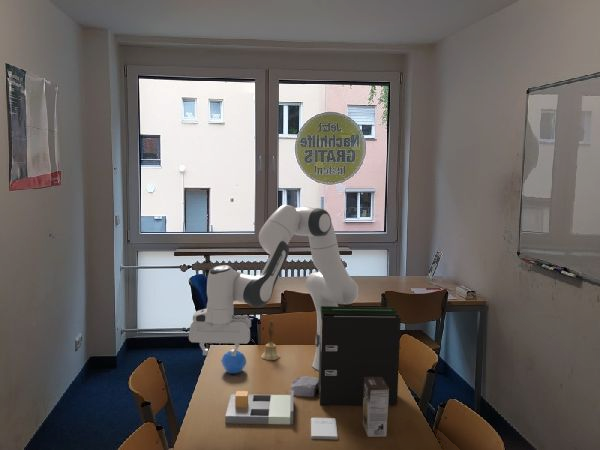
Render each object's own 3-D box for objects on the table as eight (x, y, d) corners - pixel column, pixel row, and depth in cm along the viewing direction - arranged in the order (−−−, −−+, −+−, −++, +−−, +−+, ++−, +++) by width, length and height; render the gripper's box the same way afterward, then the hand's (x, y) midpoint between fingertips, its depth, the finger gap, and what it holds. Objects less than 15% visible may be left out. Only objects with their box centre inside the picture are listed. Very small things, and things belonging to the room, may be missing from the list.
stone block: (289, 400, 206) (316, 397, 204) (287, 387, 206) (314, 384, 204) (296, 388, 217) (321, 385, 215) (294, 376, 217) (319, 373, 215)
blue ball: (247, 366, 233) (247, 344, 231) (245, 378, 221) (245, 354, 219) (223, 366, 232) (223, 344, 231) (219, 377, 220) (219, 354, 219)
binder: (390, 390, 212) (394, 307, 208) (397, 407, 197) (401, 318, 193) (318, 389, 211) (320, 306, 208) (320, 406, 197) (322, 317, 193)
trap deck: (293, 401, 200) (293, 389, 199) (293, 424, 183) (293, 411, 182) (231, 400, 200) (231, 388, 199) (225, 423, 183) (225, 410, 182)
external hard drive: (311, 440, 174) (310, 421, 186) (337, 441, 174) (335, 422, 186) (311, 435, 174) (311, 417, 186) (337, 436, 174) (335, 417, 186)
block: (248, 402, 193) (248, 391, 192) (247, 407, 189) (247, 396, 188) (236, 402, 193) (236, 391, 192) (235, 407, 189) (235, 395, 188)
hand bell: (263, 353, 249) (263, 318, 247) (281, 354, 248) (282, 319, 246) (259, 359, 241) (259, 323, 239) (278, 361, 240) (278, 324, 238)
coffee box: (361, 423, 185) (363, 376, 183) (380, 423, 185) (382, 376, 183) (367, 437, 176) (368, 387, 174) (387, 436, 176) (389, 387, 174)
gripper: (252, 313, 190) (251, 352, 192) (191, 311, 190) (191, 351, 192) (250, 318, 184) (249, 359, 186) (187, 316, 184) (187, 357, 186)
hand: (219, 355), depth 189 cm, fingers open, 8 cm apart
